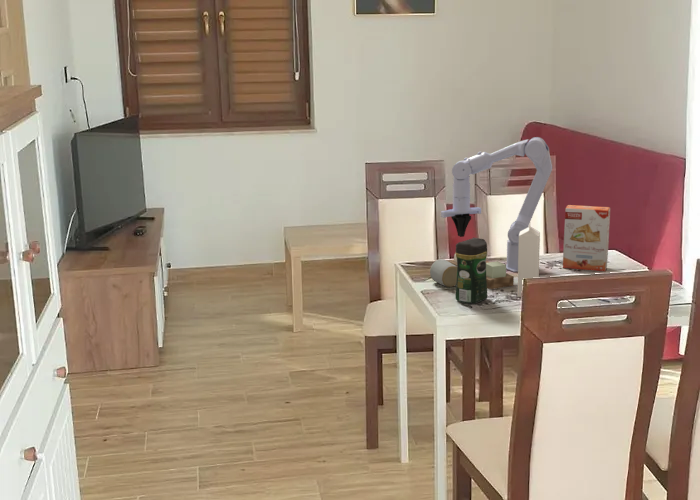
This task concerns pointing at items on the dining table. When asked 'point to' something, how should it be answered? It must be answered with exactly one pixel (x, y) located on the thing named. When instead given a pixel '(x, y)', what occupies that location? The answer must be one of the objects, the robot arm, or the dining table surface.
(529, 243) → the milk
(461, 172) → the robot arm
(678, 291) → the dining table surface
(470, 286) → the coffee jar
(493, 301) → the dining table surface
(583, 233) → the cracker box
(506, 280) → the keypad frame
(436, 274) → the ceramic mug
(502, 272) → the key sage
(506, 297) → the dining table surface
